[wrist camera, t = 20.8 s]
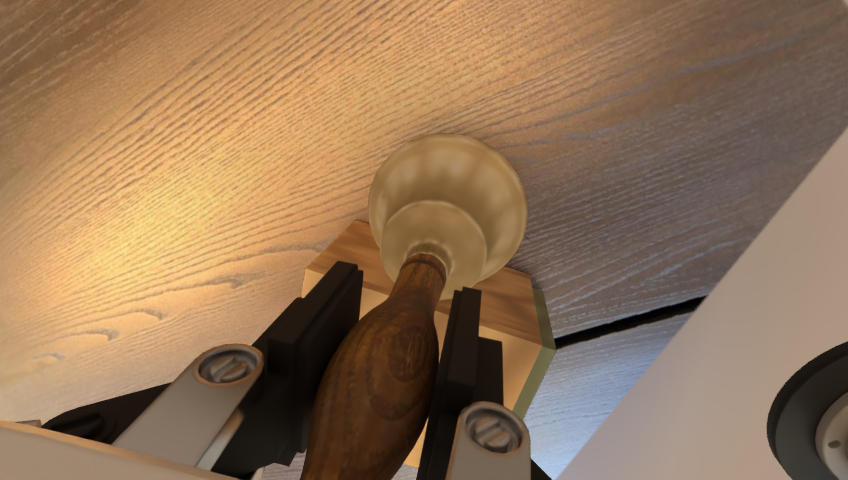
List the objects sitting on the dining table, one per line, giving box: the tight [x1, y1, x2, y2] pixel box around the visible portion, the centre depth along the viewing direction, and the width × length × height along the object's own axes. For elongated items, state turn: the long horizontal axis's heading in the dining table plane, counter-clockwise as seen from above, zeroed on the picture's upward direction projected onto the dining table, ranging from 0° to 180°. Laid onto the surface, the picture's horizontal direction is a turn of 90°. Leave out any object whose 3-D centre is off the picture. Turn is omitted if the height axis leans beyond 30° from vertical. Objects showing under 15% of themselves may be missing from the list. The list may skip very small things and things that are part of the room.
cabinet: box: [301, 220, 542, 468], centre depth 31 cm, size 15×13×10 cm
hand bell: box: [300, 133, 528, 480], centre depth 14 cm, size 8×8×16 cm
